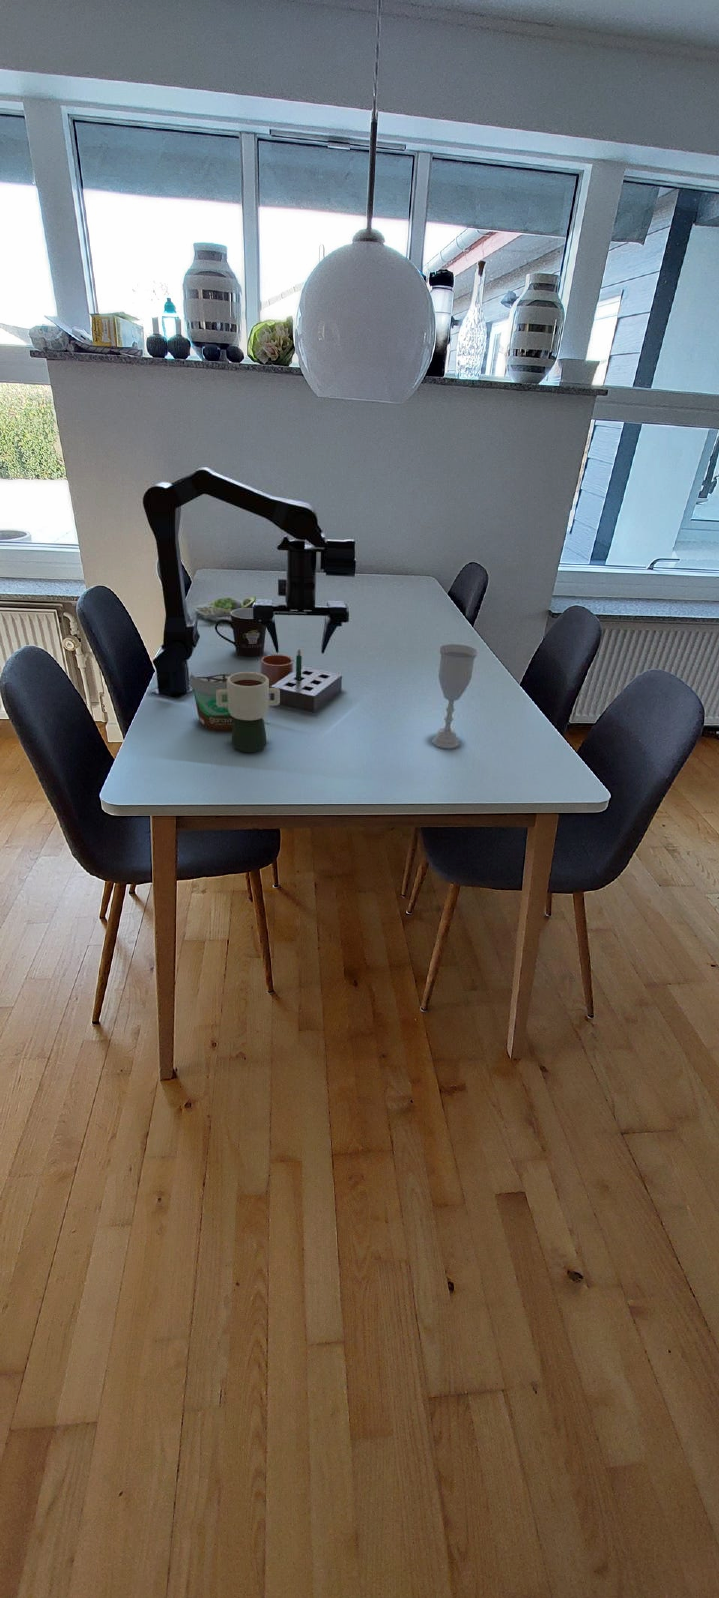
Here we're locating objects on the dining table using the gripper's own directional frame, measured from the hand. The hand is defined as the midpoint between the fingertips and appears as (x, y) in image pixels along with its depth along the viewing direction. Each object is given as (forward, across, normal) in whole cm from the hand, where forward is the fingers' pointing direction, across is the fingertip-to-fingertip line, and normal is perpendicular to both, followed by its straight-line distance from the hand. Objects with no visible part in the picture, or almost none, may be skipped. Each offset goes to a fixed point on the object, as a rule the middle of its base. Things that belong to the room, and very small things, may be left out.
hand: (299, 652), depth 140 cm
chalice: (+10, -26, +22) cm, 36 cm away
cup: (+10, +4, -8) cm, 13 cm away
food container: (+10, +15, +15) cm, 23 cm away
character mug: (+10, +10, +24) cm, 28 cm away
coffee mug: (+10, +12, -26) cm, 30 cm away
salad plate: (+10, +16, -58) cm, 61 cm away
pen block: (+10, -2, +1) cm, 10 cm away
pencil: (+10, 0, 0) cm, 10 cm away
